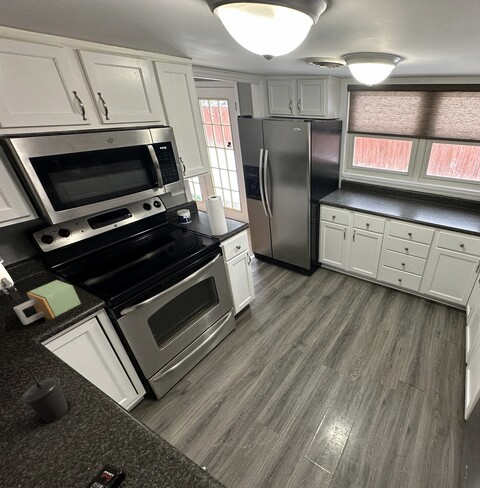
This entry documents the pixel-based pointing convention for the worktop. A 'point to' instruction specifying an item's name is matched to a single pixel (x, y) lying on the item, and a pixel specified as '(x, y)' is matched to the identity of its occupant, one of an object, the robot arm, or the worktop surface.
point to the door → (39, 305)
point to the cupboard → (58, 296)
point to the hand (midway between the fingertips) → (9, 297)
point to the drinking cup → (46, 398)
